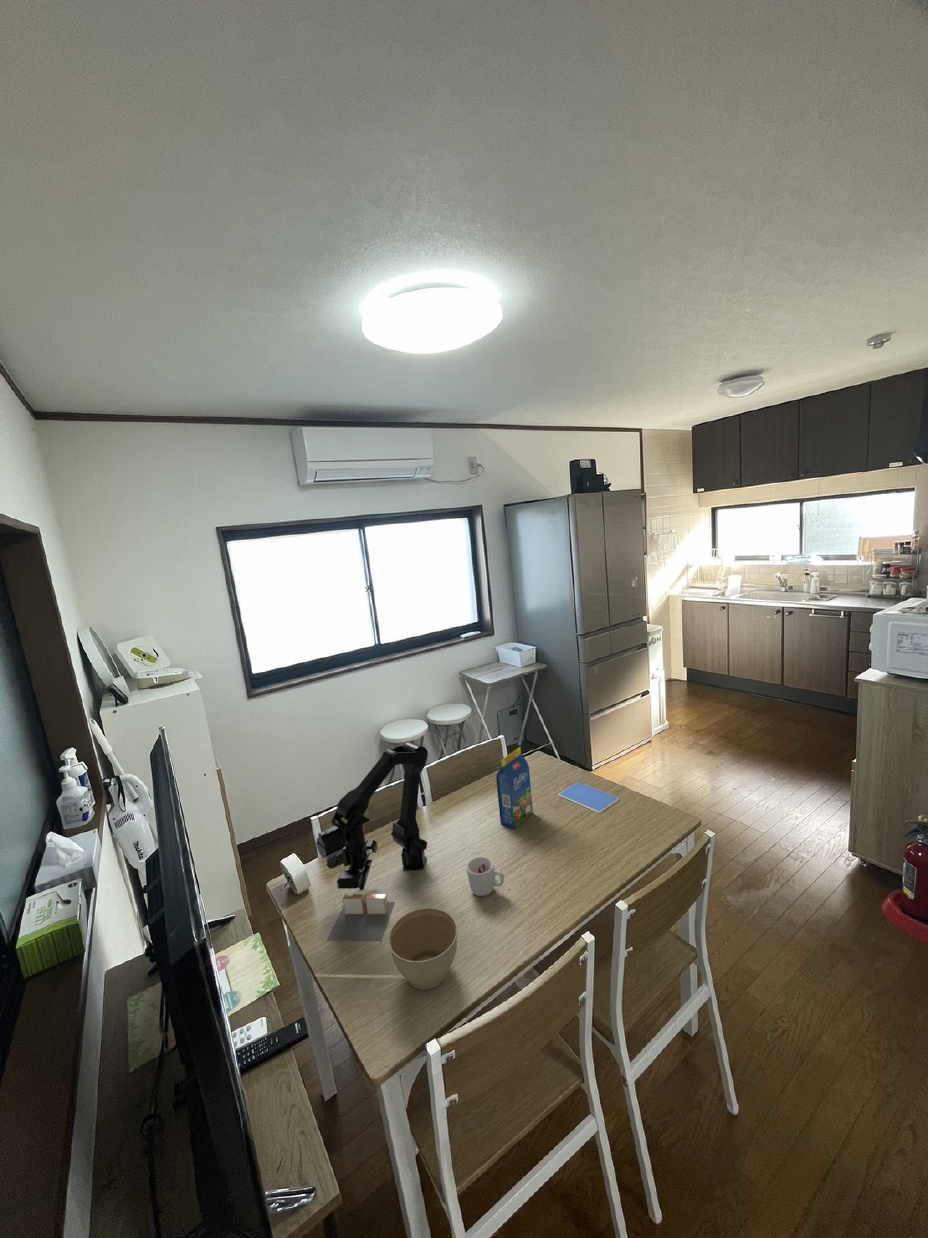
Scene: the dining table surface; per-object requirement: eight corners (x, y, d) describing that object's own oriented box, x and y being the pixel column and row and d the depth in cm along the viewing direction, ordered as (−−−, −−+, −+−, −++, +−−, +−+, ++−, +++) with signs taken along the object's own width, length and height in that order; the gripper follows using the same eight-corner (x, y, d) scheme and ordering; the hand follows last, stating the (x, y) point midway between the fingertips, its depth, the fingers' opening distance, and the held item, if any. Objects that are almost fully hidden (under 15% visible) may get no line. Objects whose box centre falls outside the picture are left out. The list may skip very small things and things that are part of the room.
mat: (395, 903, 144) (395, 902, 144) (381, 942, 130) (381, 940, 130) (345, 903, 146) (345, 902, 146) (326, 942, 132) (326, 940, 132)
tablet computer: (620, 800, 186) (620, 797, 186) (599, 815, 178) (599, 811, 178) (578, 784, 201) (577, 781, 200) (557, 797, 193) (557, 794, 193)
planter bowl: (405, 1016, 109) (399, 973, 107) (386, 962, 124) (380, 923, 122) (472, 984, 115) (468, 942, 113) (446, 936, 130) (442, 899, 128)
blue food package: (533, 813, 183) (527, 748, 179) (515, 829, 174) (508, 761, 170) (518, 808, 187) (513, 745, 183) (500, 824, 178) (493, 758, 174)
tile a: (388, 910, 141) (385, 894, 140) (386, 914, 139) (384, 898, 138) (369, 910, 141) (366, 894, 141) (367, 914, 140) (364, 898, 139)
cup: (508, 884, 147) (506, 859, 146) (501, 903, 139) (499, 877, 138) (473, 879, 150) (471, 855, 149) (465, 897, 143) (462, 872, 142)
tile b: (365, 910, 141) (363, 894, 141) (363, 914, 140) (361, 898, 139) (347, 910, 142) (344, 894, 141) (344, 914, 140) (342, 898, 140)
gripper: (340, 823, 155) (347, 868, 158) (315, 861, 137) (323, 912, 139) (374, 822, 154) (381, 868, 156) (354, 861, 135) (362, 912, 138)
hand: (362, 889), depth 147 cm, fingers closed
